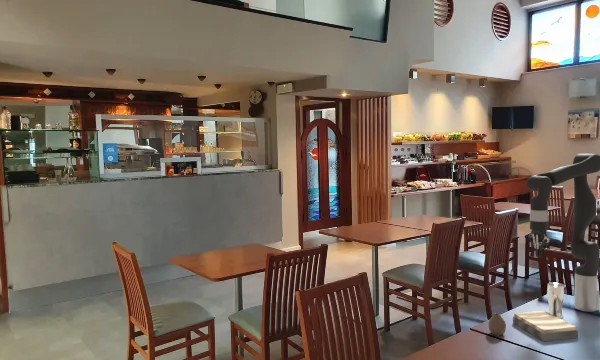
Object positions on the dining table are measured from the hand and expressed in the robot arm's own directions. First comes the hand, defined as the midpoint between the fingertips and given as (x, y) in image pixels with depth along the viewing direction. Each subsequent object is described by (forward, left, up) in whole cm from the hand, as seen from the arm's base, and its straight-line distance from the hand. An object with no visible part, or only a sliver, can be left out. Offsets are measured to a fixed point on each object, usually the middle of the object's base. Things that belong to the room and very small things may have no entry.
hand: (538, 256), depth 210 cm
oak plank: (+4, +18, -26) cm, 32 cm away
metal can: (-9, -2, -29) cm, 31 cm away
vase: (+26, +16, -29) cm, 42 cm away
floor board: (+4, +13, -29) cm, 32 cm away
